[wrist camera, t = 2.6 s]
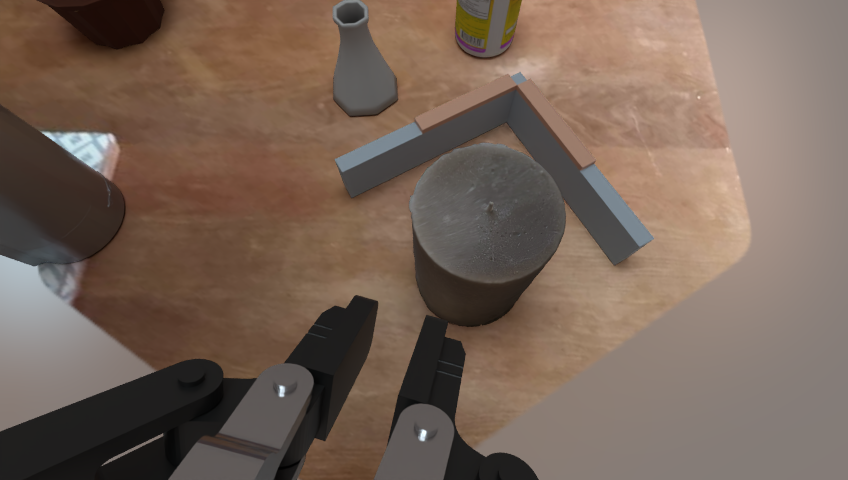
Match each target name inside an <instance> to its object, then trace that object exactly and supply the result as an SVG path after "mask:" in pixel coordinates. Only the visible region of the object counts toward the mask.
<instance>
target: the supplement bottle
mask: <svg viewBox="0 0 848 480" xmlns="http://www.w3.org/2000/svg"><path fill="white" fill-rule="evenodd" d="M521 2H522V0H457V7H456V22H455V37H456V40H457V42H458V44H459V45H460V47H461V48H462V49H463V50H464V51H466V52H467V53H469V54H471V55H474V56H477V57H492V56H496V55H498V54H501V53H502V52H504V51H505V50H506V49H507V48H508V47H509V46H510V44H511V42H512V40H513V36H514V32H515V28H516V24H517V19H518V15H519V11H520V6H521Z"/></svg>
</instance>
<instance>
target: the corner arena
mask: <svg viewBox="0 0 848 480" xmlns="http://www.w3.org/2000/svg"><path fill="white" fill-rule="evenodd" d="M414 119H415V122H413V123H411V124H409V125H407V126H405V127H402V128H400V129H398V130H396V131H394V132H392V133H390V134H388V135H385V136H383V137H381V138H379V139H377V140H375V141H373V142H371V143H368V144H366V145H364V146H362V147H360V148H358V149H356V150H354V151H351V152H349V153H347V154H345V155H343V156H341V157H339V158H337V159H335V161H336V164H337V167H338V169H339V172H340V175H341V177H342V180H343V183H344V185H345V187H346V189H347V191H348V193H349V194H350V196H351V198H353V197H355V196H357V195H359V194H361V193H363V192H365V191H367V190H369V189H371V188H373V187H375V186H377V185H379V184H381V183H383V182H385V181H387V180H390V179H392V178H394V177H396V176H398V175H400V174H402V173H404V172H406V171H408V170H410V169H412V168H414V167H416V166H418V165H420V164H422V163H424V162H426V161H428V160H430V159H432V158H434V157H436V156H438V155H440V154H443V153H445V152H447V151H449V150H451V149H453V148H455V147H457V146H459V145H461V144H463V143H465V142H467V141H469V140H471V139H473V138H475V137H477V136H479V135H481V134H483V133H485V132H487V131H489V130H491V129H493V128H496V127H498V126H500V125H502V124H504V123H506V122H507V123H508V125H509V126H510V127H511V129H512V130H513V131H514V133H515V134H516V135H517V137H518V138H519V139H520V141H521V142H522V143H523V145H524V146H525V147H526V149H527V150H528V151H529V153H530V154H531V155H532V157H533V158H534V159H535V161H536V162H537V163H538V164H540V165H541V166H542V167H543V168H544V169H545V170H546V171H547V172H548V173H549V174H550V175H551V176H552V178H553V179H554V181H555V182H556V185H557V186H558V188H559V190H560V192H561V195H562V197H563V198H564V199H565V201H566V202H567V203H568V205H569V206H570V207H571V209H572V210H573V211H574V213H575V214H576V215H577V217H578V218H579V219H580V221H581V222H582V223H583V225H584V226H585V227H586V229H587V230H588V231H589V233H590V234H591V235H592V237H593V238H594V239H595V241H596V242H597V243H598V244H599V246H600V247H601V248H602V250H603V251H604V252H605V254H606V255H607V256H608V258H609V259H610V260H611V262H612V263H613V264H614V265H616V264H618V263H619V262H621V261H623V260H625V259H626V258H628V257H629V256H631V255H632V254H633V253H635V252H636V251H638V250H639V249H640V248H642V247H643V246H645V245H646V244H647V243H649V242H650V241H652V240H653V239H654V238H653V236H652V235H651V234H650V233H649V231H648V230H647V229H646V228H645V226H644V225H643V224H642V223H641V221H640V220H639V219H638V218H637V216H636V215H635V214H634V213H633V211H632V210H631V209H630V208H629V207H628V205H627V204H626V203H625V202H624V200H623V199H622V198H621V197H620V195H619V194H618V193H617V192H616V190H615V189H614V188H613V187H612V185H611V184H610V183H609V182H608V180H607V179H606V178H605V177H604V175H603V174H602V173H601V172H600V171H599V169H598V168H597V167H596V166H595V164H594V163H595V162H596V159H595V157H594V156H593V155H592V154H591V153H590V151H589V150H588V149H587V148H586V146H585V145H584V144H583V143H582V141H581V140H580V139H579V138H578V137H577V135H576V134H575V133H574V132H573V130H572V129H571V128H570V127H569V125H568V124H567V123H566V122H565V120H564V119H563V118H562V117H561V116H560V114H559V113H558V112H557V111H556V109H555V108H554V107H553V106H552V104H551V103H550V102H549V101H548V100H547V98H546V97H545V96H544V95H543V93H542V92H541V91H540V90H539V88H538V87H537V86H536V85H535V83H534V82H533V81H532V80H531V79H529V80H526V79H525V77H524V76H523V75H522V74H521V72H519V73H517V74H515V75H513V76H511V77H510V75H509V74H507V75H505V76H502V77H500V78H498V79H496V80H494V81H492V82H490V83H487V84H485V85H483V86H481V87H479V88H477V89H475V90H472V91H470V92H468V93H466V94H464V95H462V96H460V97H458V98H455V99H453V100H451V101H449V102H447V103H445V104H443V105H440V106H438V107H436V108H434V109H432V110H430V111H428V112H426V113H423V114H421V115H419V116H417V117H415V118H414Z"/></svg>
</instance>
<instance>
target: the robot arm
mask: <svg viewBox="0 0 848 480" xmlns="http://www.w3.org/2000/svg"><path fill="white" fill-rule="evenodd" d="M123 215H124V200H123V196H122V194H121V192H120V190H119V189H118V188H117V187H116V185H115V184H114V183H112V182H111V181H109V180H108V179H107V178H105V177H104V176H103V175H102V174H100V173H99V172H98V171H95V170H94V169H92V168H91V167H89V166H88V165H87V164H85V163H84V162H82V161H81V160H80V159H78V158H77V157H75V156H74V155H72V154H71V153H70V152H68V151H67V150H65V149H64V148H62V147H61V146H60V145H58V144H57V143H55V142H54V141H52V140H51V139H50V138H48V137H47V136H45V135H44V134H42V133H41V132H40V131H38V130H37V129H35V128H34V127H32V126H31V125H30V124H28V123H27V122H25V121H24V120H22V119H21V118H19V117H18V116H17V115H15V114H14V113H12V112H11V111H9V110H8V109H7V108H5V107H4V106H2V105H1V104H0V255H3V256H6V257H8V258H11V259H15V260H17V261H20V262H23V263H26V264H29V265H32V266H37V265H39V264H41V263H44V262H50V263H58V264H62V263H72V262H76V261H79V260H82V259H84V258H87V257H89V256H91V255H93V254H94V253H96V252H97V251H99V250H100V249H102V248H103V247H104V246H105V245H106V244H107V243H108V242H109V241H110V240H111V239H112V237H113V236H114V235H115V234H116V232H117V230H118V228H119V227H120V225H121V222H122V219H123ZM377 309H378V301H376V300H372V299H368V298H365V297H361V296H358V295H355V296H354V298H353V299H352V300H351V302H350V303H349V305H348V306H347V308H346V309H345V308H342V307H338V306H334V307H332V308H330V309H328V310H326V311H325V312H323V313H322V314H321V315H320V316H319V318H318V319H317V320H316V322H315V323H314V325H313V326H312V327H311V328H310V330H309V331H308V334H306V335H305V336H304V338H303V339H302V340H301V341H300V343H299V344H298V345H297V347H296V348H295V349H294V351H293V352H292V353H291V355H290V356H289V357H288V359H287V360H286V361H285V363H284V364H278V365H274V366H272V367H269V368H268V369H266V370H265V371H263V372H262V373H261V374H260V375H259V377H258V378H253V379H236V378H223V371H222V369H221V367H220V366H219V365H218V364H216V363H215V362H213V361H210V360H205V359H192V360H186V361H183V362H180V363H177V364H175V365H172V366H169V367H167V368H164V369H162V370H159V371H156V372H154V373H151V374H149V375H146V376H143V377H141V378H138V379H136V380H133V381H131V382H128V383H125V384H123V385H120V386H117V387H115V388H112V389H110V390H107V391H104V392H102V393H99V394H97V395H94V396H92V397H89V398H86V399H84V400H81V401H79V402H76V403H73V404H71V405H68V406H65V407H63V408H60V409H58V410H55V411H52V412H50V413H47V414H45V415H42V416H39V417H37V418H34V419H32V420H29V421H27V422H24V423H21V424H19V425H16V426H14V427H11V428H8V429H6V430H3V431H1V432H0V480H297V478H298V476H299V474H300V471H301V469H302V467H303V465H304V462H305V459H306V453H307V451H308V449H309V447H310V445H311V443H312V442H313V440H314V438H317V439H320V440H323V441H325V440H326V438H327V436H328V434H329V432H330V430H331V428H332V426H333V424H334V422H335V420H336V418H337V416H338V414H339V412H340V410H341V408H342V406H343V404H344V402H345V400H346V398H347V396H348V394H349V392H350V390H351V388H352V386H353V384H354V382H355V380H356V378H357V376H358V374H359V372H360V370H361V368H362V366H363V364H364V362H365V360H366V358H367V356H368V353H369V350H370V347H371V343H372V338H373V332H374V327H375V321H376V315H377ZM447 325H448V321H447V320H443V319H440V318H436V317H432V316H429V315H426V318H425V321H424V323H423V326H422V329H421V332H420V335H419V338H418V340H417V343H416V346H415V349H414V352H413V355H412V358H411V360H410V363H409V366H408V369H407V372H406V375H405V377H404V380H403V383H402V386H401V389H400V392H399V395H398V399H397V403H396V408H395V412H394V417H393V421H392V426H391V430H390V435H389V439H388V444H387V448H386V451H385V453H384V456H383V458H382V460H381V463H380V465H379V468H378V470H377V473H376V475H375V478H374V480H539V479H538V478H537V476H536V474H535V473H534V471H533V470H532V469H531V468H530V467H529V465H527V464H526V463H525V462H524V461H523V460H521V459H520V458H518V457H516V456H514V455H511V454H507V453H494V454H491V455H489V456H487V457H485V456H483V455H481V454H480V453H478V452H477V451H475V450H474V449H472V448H471V447H470V446H468V445H467V444H466V443H465V442H464V441H463V439H462V438H461V437H460V435H459V434H458V431H457V429H456V426H455V413H456V407H457V401H458V396H459V390H460V384H461V378H462V373H463V367H464V361H465V355H466V353H465V351H464V348H463V346H462V343H461V341H458V340H454V339H451V338H447V337H445V333H446V329H447ZM162 433H163V437H161V438H159V439H157V440H154V441H152V442H151V443H148V444H146V445H144V446H142V447H140V448H138V449H136V450H134V451H132V452H130V453H128V454H126V455H124V456H122V457H120V458H118V459H116V460H114V461H112V462H109V463H107V464H105V465H103V466H102V464H104V463H105V462H106V461H108V460H109V459H111V458H113V457H114V456H117V455H118V454H121V453H123V452H125V451H127V450H129V449H131V448H133V447H135V446H137V445H139V444H142V443H144V442H146V441H148V440H149V439H152V438H154V437H156V436H158V435H160V434H162Z"/></svg>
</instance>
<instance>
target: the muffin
mask: <svg viewBox="0 0 848 480" xmlns="http://www.w3.org/2000/svg"><path fill="white" fill-rule="evenodd" d="M37 1H40V2H42V3H44V4H46V5H48V6H49V7H51V8H52V9H53V10H54V11H56V12H57V13H58V14H59V15H61V16H62V17H63V18H64V19H66V20H67V21H68V22H69V23H71V24H72V25H73V26H74V27H75V28H77V29H78V30H79V31H80V32H82V33H83V34H84V35H85V36H87V37H88V38H89V39H90V40H92V41H93V42H94V43H95V44H98V45H104V46H109V47H112V48H115V49H120V48H123V47H126V46H130V45H134V44H140V43H143V42H144V41H145V40H146V39H147V38H148V37H149V36H150V35H151V34H152V33H154V32H155V31H156V30H158V29H159V28H160V25H161V18H162V16H163V13H164V8H163V6H162V4H161V1H160V0H37Z"/></svg>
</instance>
